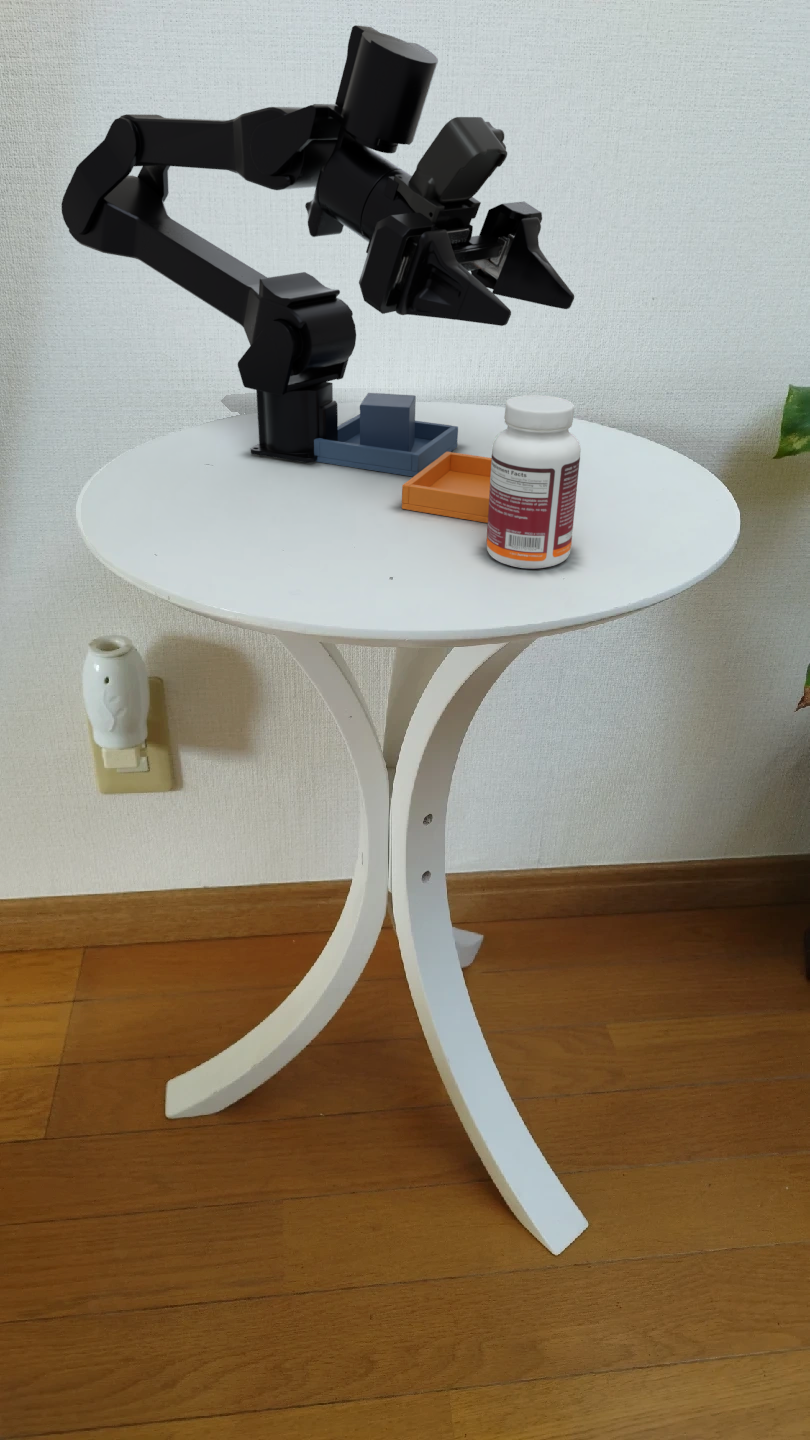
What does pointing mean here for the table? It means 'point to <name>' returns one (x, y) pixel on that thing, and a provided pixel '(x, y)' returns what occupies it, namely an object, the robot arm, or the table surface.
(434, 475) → the amber tray
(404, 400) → the slate block
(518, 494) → the pill bottle
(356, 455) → the slate tray
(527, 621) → the table surface
